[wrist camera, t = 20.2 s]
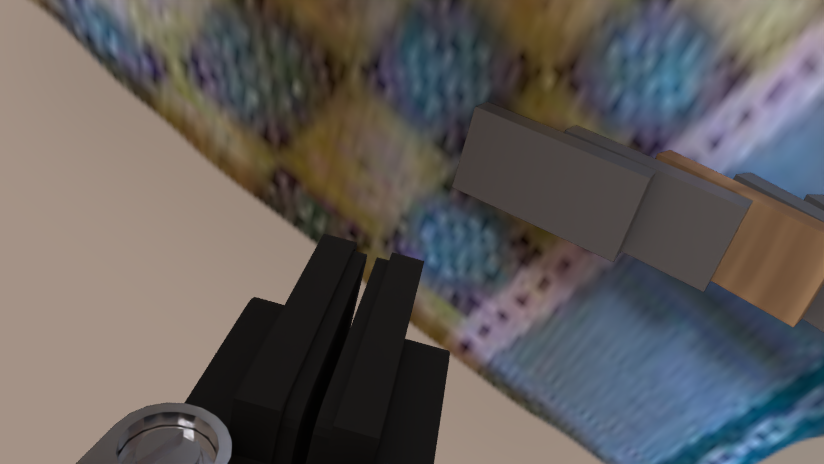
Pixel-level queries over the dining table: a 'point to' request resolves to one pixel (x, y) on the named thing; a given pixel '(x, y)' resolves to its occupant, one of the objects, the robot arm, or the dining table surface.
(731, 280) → the domino walnut
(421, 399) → the robot arm
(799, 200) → the domino
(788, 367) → the dining table surface
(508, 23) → the dining table surface
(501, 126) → the domino
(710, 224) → the domino
